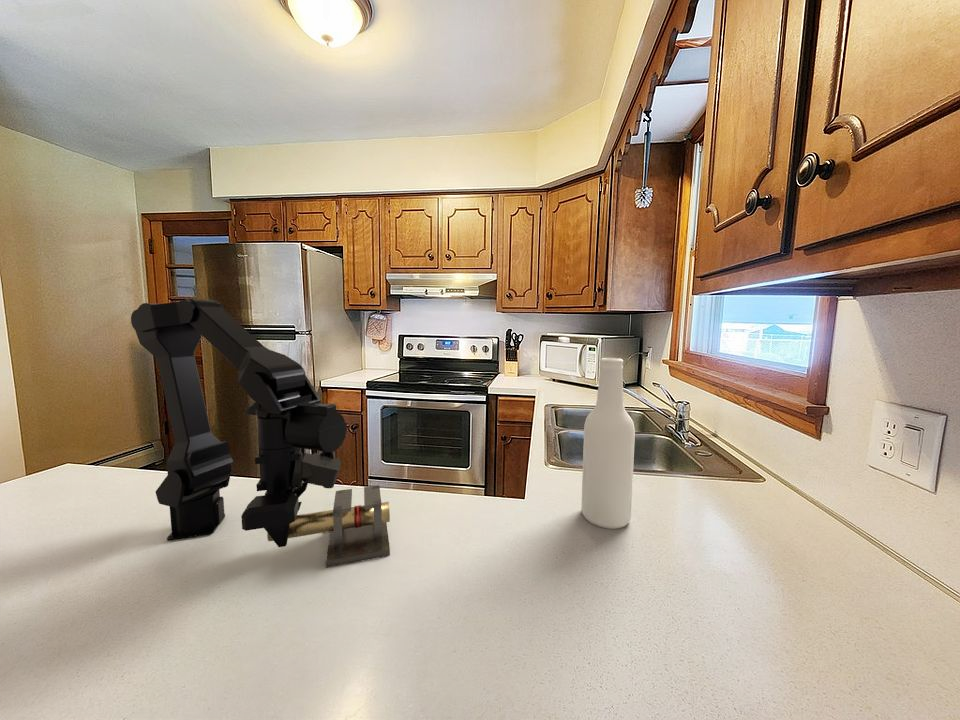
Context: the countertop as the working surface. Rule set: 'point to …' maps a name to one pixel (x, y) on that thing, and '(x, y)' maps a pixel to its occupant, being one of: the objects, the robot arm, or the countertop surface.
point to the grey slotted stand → (357, 531)
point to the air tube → (324, 521)
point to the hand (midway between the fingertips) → (284, 539)
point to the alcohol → (608, 453)
